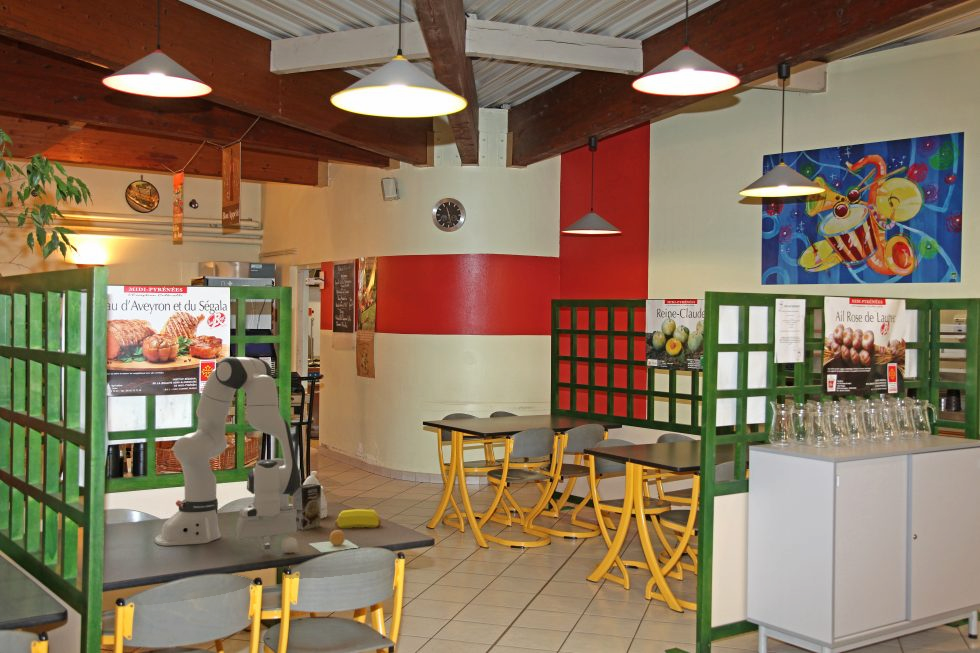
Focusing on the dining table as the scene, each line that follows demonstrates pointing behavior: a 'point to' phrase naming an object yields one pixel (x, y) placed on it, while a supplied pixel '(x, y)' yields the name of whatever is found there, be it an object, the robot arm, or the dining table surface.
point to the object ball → (337, 537)
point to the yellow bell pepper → (358, 518)
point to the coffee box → (307, 506)
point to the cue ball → (289, 544)
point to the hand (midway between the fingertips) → (266, 549)
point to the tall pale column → (283, 497)
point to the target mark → (332, 546)
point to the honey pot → (313, 480)
